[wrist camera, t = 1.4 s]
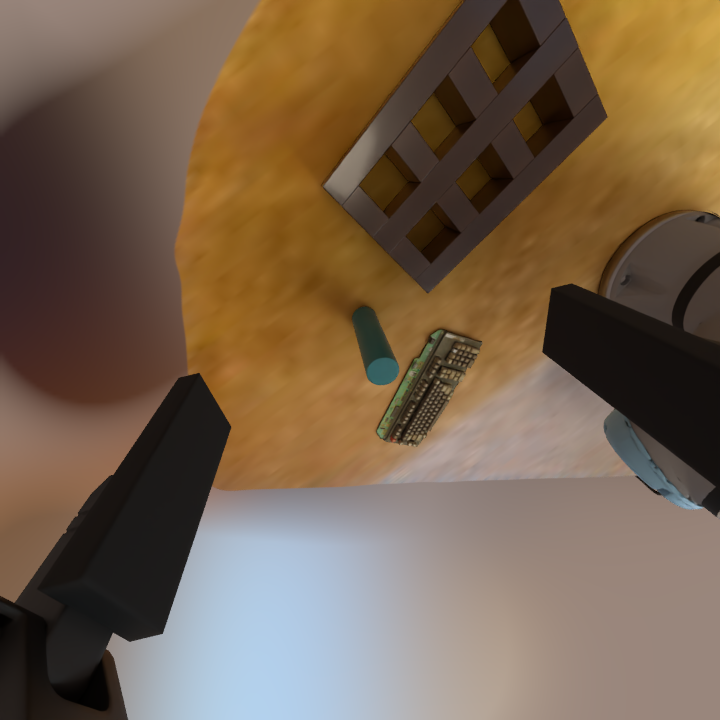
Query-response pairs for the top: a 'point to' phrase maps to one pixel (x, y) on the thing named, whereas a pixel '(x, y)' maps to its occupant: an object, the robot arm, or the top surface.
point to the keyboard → (427, 388)
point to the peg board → (472, 131)
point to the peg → (374, 347)
